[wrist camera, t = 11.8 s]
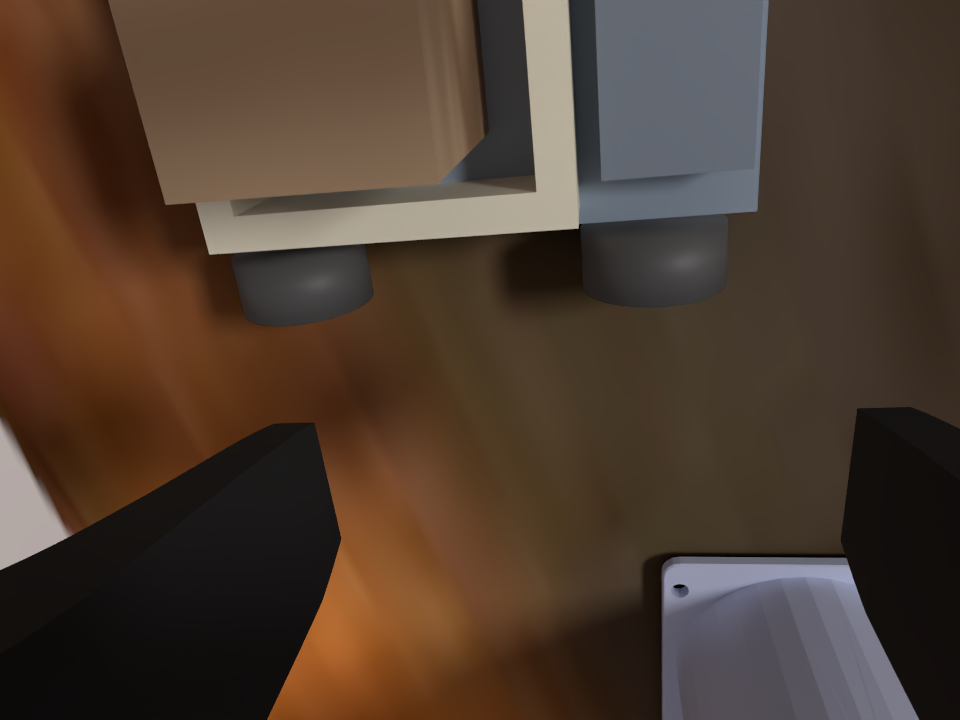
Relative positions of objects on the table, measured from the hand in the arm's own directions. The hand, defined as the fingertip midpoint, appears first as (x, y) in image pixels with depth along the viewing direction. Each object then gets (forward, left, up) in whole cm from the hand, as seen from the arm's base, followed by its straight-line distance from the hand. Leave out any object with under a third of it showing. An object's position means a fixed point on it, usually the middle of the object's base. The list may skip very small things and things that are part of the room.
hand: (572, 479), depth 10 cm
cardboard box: (+6, +4, -8) cm, 11 cm away
